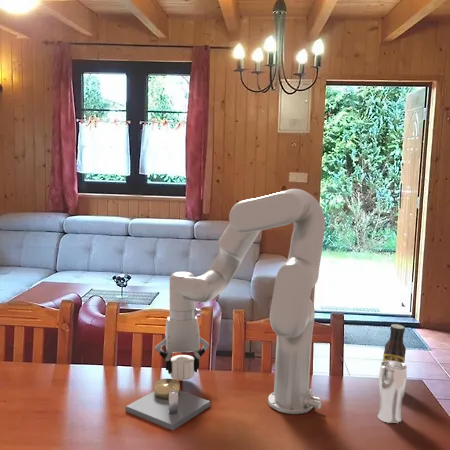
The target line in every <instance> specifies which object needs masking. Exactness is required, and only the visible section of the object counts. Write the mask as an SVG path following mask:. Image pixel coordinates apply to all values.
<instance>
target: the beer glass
mask: <svg viewBox="0 0 450 450" xmlns="http://www.w3.org/2000/svg"><path fill="white" fill-rule="evenodd" d="M407 368H408V366H407V365H406V364H405V363H404V364H403V363H401V362H398V361H393V360H386V361H383V360H382V361H381V362H380V368H379V373H378V375H379V376H378V391H379V399H380V401H379V403H380V404H379V409H378V413H377V418H378V419H379V420H380V421H381V422H383V423H385V422H386V424H389V423H397V424H399V422H400V423H401V422H402V414H401V413H402V411H401V410H402V409H401V408H402V403H403V399H404V396H405V393H406V388H407V379H408V378H407V376H408V375H407V374H408V373H407V372H408V370H407Z"/></svg>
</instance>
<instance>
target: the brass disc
mask: <svg viewBox="0 0 450 450" xmlns="http://www.w3.org/2000/svg"><path fill="white" fill-rule="evenodd" d="M153 384H154V389H153V390H154V391H153V392H154V395H155V397H156V398H158V399H162V400H169V392H170V391H172V390H175V391H178V396H179V392H180V391H181V390H180V389H181V388H180V386H181V385H180V381H179V380H176V379H173V378H161V379H158V380H156V381H155V382H154V383H153Z"/></svg>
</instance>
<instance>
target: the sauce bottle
mask: <svg viewBox="0 0 450 450" xmlns="http://www.w3.org/2000/svg"><path fill="white" fill-rule="evenodd" d="M405 330H406V328H405V326H404V325H401V324H396V323H394V324H391V325H390V332H389V333H390V335H389V339H388V341H387V342H386V343H385V345H384V350H383V355H382V362H383V361H386V360H393V361H398V362H401V363H403V364H405V360H406V359H405V358H406V351H407V350H406V349H407V348H406V346H405V344H404V335H405V332H406V331H405Z"/></svg>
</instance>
